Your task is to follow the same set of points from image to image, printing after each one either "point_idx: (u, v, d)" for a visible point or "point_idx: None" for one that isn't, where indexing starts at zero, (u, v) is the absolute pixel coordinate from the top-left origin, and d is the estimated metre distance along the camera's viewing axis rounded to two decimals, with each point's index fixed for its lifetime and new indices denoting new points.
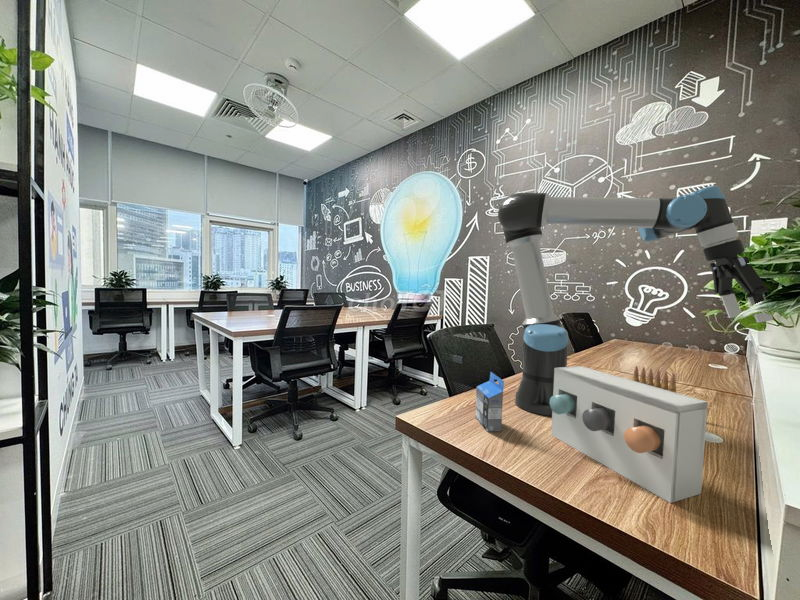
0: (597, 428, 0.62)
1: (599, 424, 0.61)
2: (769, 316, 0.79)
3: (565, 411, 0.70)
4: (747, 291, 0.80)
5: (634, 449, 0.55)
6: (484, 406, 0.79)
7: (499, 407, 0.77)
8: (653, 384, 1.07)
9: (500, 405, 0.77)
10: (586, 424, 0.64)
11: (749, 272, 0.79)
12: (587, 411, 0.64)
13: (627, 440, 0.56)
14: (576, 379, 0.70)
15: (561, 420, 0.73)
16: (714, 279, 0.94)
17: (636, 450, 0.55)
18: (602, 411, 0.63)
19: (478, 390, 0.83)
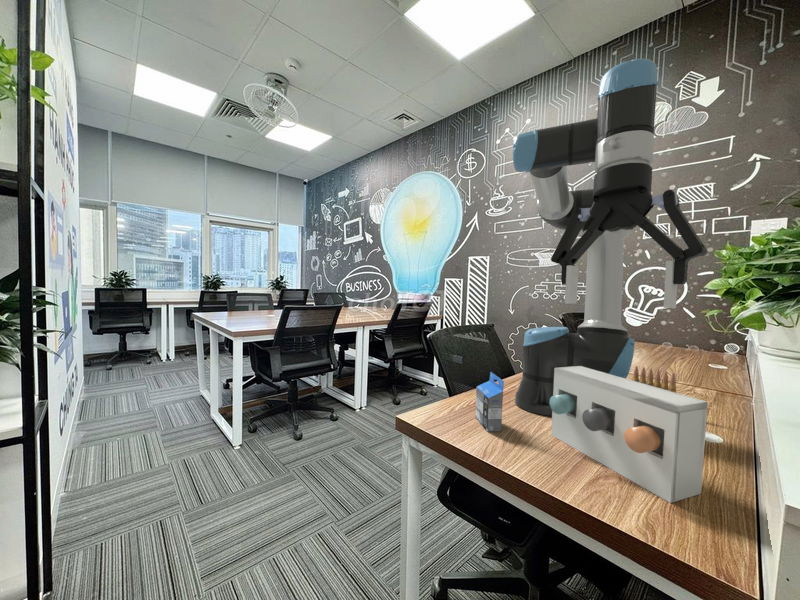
0: (597, 428, 0.62)
1: (599, 424, 0.61)
2: None
3: (565, 411, 0.70)
4: None
5: (634, 449, 0.55)
6: (484, 406, 0.79)
7: (499, 407, 0.77)
8: None
9: (500, 405, 0.77)
10: (586, 424, 0.64)
11: None
12: (587, 411, 0.64)
13: (627, 440, 0.56)
14: (576, 379, 0.70)
15: (561, 420, 0.73)
16: None
17: (636, 450, 0.55)
18: (602, 411, 0.63)
19: (478, 390, 0.83)
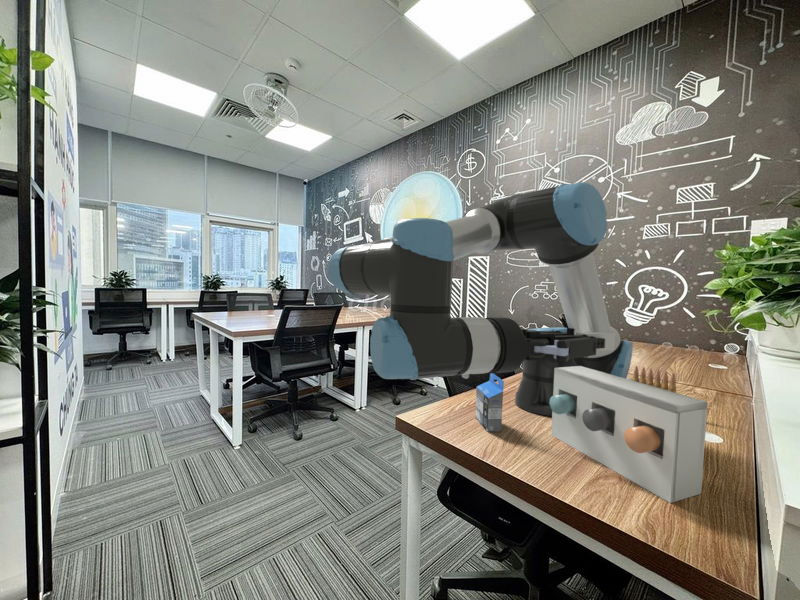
0: (597, 428, 0.62)
1: (599, 424, 0.61)
2: None
3: (565, 411, 0.70)
4: (564, 333, 0.50)
5: (634, 449, 0.55)
6: (484, 406, 0.79)
7: (499, 407, 0.77)
8: None
9: (500, 405, 0.77)
10: (586, 424, 0.64)
11: None
12: (587, 411, 0.64)
13: (627, 440, 0.56)
14: (576, 379, 0.70)
15: (561, 420, 0.73)
16: (575, 339, 0.44)
17: (636, 450, 0.55)
18: (602, 411, 0.63)
19: (478, 390, 0.83)
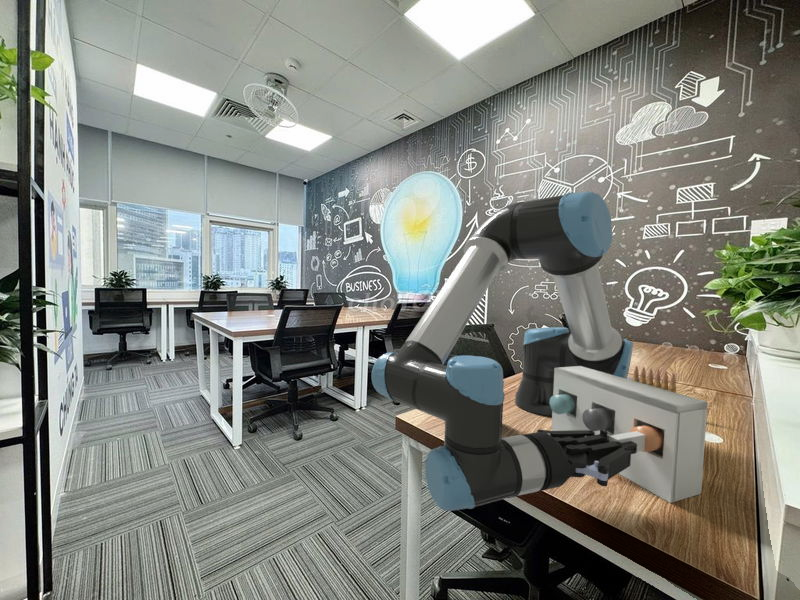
0: (597, 428, 0.62)
1: (599, 424, 0.61)
2: None
3: (565, 411, 0.70)
4: (598, 436, 0.54)
5: None
6: None
7: None
8: None
9: None
10: (586, 424, 0.64)
11: None
12: (587, 411, 0.64)
13: None
14: (576, 379, 0.70)
15: (561, 420, 0.73)
16: (612, 455, 0.47)
17: None
18: (602, 411, 0.63)
19: None
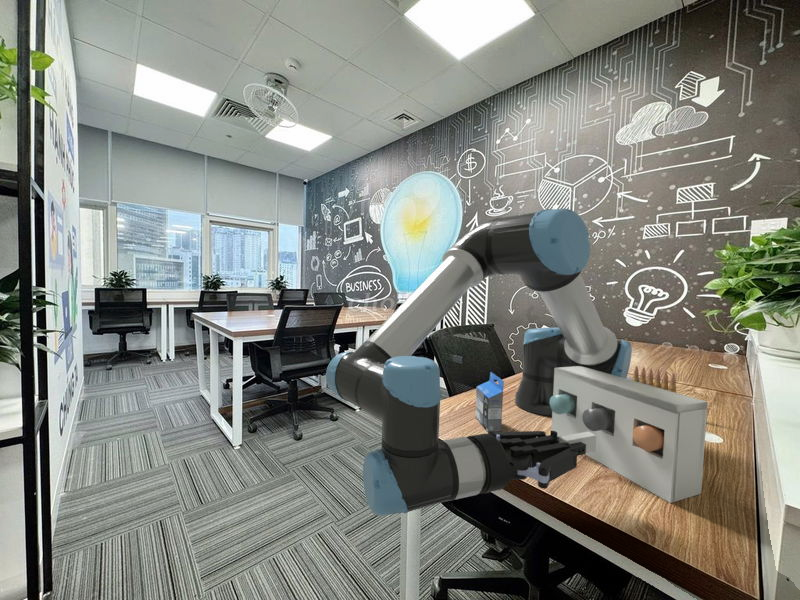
0: (597, 428, 0.62)
1: (599, 424, 0.61)
2: None
3: (565, 411, 0.70)
4: (548, 437, 0.53)
5: (643, 447, 0.56)
6: (484, 406, 0.79)
7: (499, 407, 0.77)
8: (646, 380, 1.12)
9: (500, 405, 0.77)
10: (586, 424, 0.64)
11: None
12: (587, 411, 0.64)
13: (636, 439, 0.57)
14: (576, 379, 0.70)
15: (561, 420, 0.73)
16: (556, 457, 0.47)
17: (645, 448, 0.56)
18: (602, 411, 0.63)
19: (478, 390, 0.83)
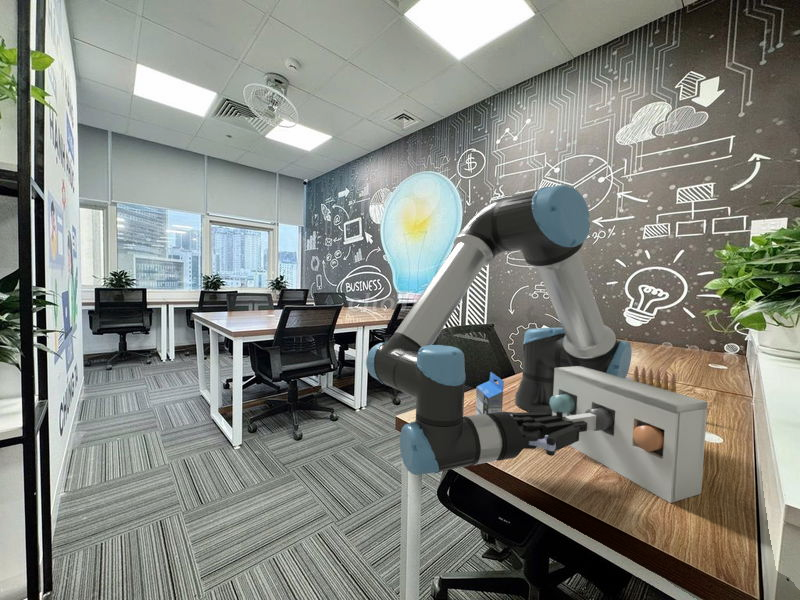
0: (599, 428, 0.62)
1: (601, 423, 0.61)
2: None
3: (565, 411, 0.70)
4: (554, 416, 0.62)
5: (643, 447, 0.56)
6: (484, 406, 0.79)
7: (499, 407, 0.77)
8: (646, 380, 1.12)
9: (500, 405, 0.77)
10: None
11: None
12: (589, 411, 0.64)
13: (636, 439, 0.57)
14: (576, 379, 0.70)
15: None
16: (562, 431, 0.55)
17: (645, 448, 0.56)
18: (604, 411, 0.63)
19: (478, 390, 0.83)
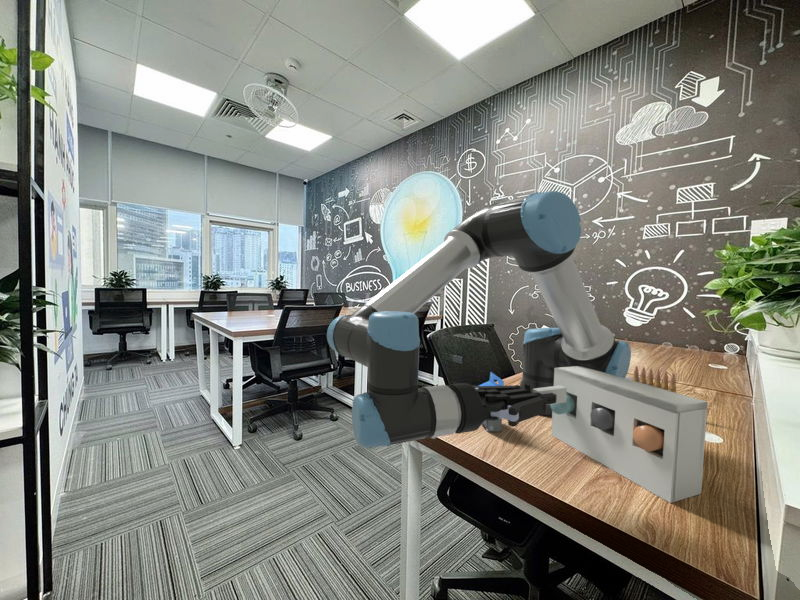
0: (605, 427, 0.63)
1: (608, 422, 0.62)
2: None
3: (565, 411, 0.70)
4: (522, 389, 0.58)
5: (643, 447, 0.56)
6: None
7: None
8: None
9: None
10: (594, 423, 0.65)
11: None
12: (595, 410, 0.65)
13: (636, 439, 0.57)
14: (576, 379, 0.70)
15: (561, 420, 0.73)
16: (527, 402, 0.52)
17: (645, 448, 0.56)
18: (610, 410, 0.64)
19: None
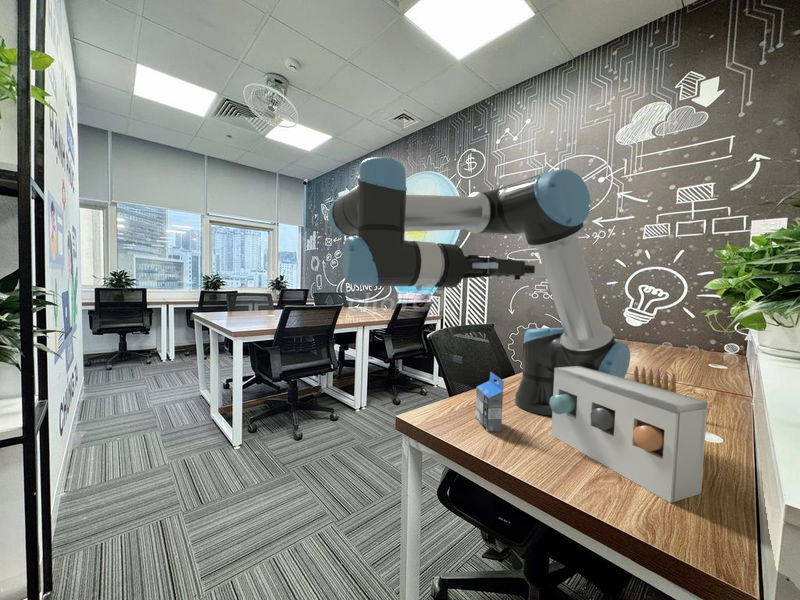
0: (605, 427, 0.63)
1: (608, 422, 0.62)
2: None
3: (565, 411, 0.70)
4: None
5: (643, 447, 0.56)
6: (484, 406, 0.79)
7: (499, 407, 0.77)
8: None
9: (500, 405, 0.77)
10: (594, 423, 0.65)
11: None
12: (595, 410, 0.65)
13: (636, 439, 0.57)
14: (576, 379, 0.70)
15: (561, 420, 0.73)
16: None
17: (645, 448, 0.56)
18: (610, 410, 0.64)
19: (478, 390, 0.83)
